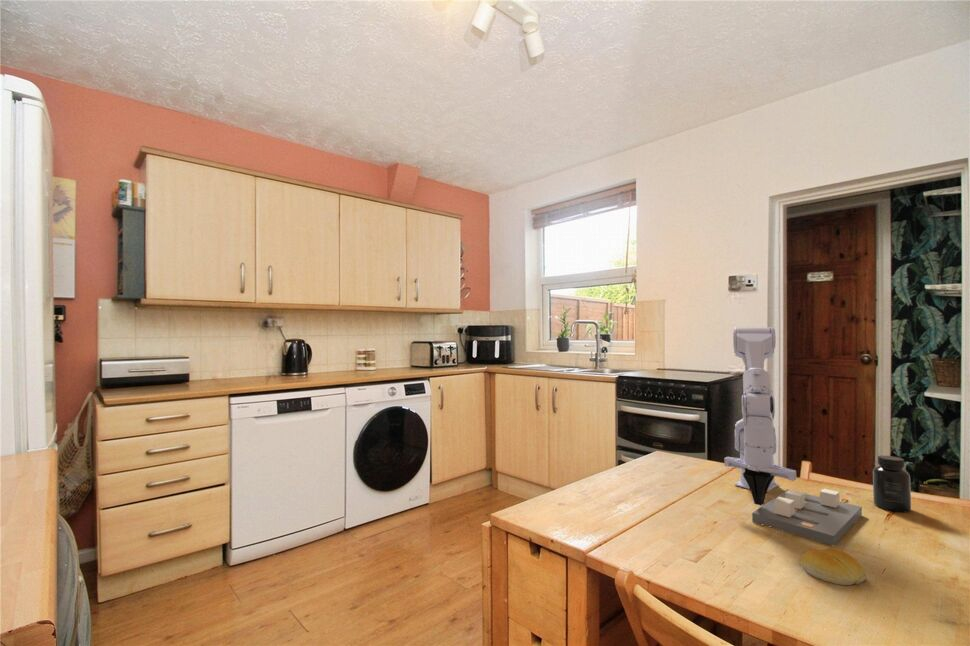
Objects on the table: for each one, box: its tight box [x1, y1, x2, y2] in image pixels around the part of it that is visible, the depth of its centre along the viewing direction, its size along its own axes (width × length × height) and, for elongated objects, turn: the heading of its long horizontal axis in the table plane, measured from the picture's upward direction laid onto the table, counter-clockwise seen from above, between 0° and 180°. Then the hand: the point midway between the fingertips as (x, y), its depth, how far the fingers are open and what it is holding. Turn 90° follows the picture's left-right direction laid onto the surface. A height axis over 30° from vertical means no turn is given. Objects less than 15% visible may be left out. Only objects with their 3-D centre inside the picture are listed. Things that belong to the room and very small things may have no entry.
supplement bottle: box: [872, 455, 912, 513], centre depth 110 cm, size 7×7×12 cm
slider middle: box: [785, 489, 806, 509], centre depth 106 cm, size 3×3×3 cm
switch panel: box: [751, 489, 863, 547], centre depth 104 cm, size 23×15×2 cm, turn 129°
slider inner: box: [819, 488, 840, 508], centre depth 107 cm, size 3×3×3 cm
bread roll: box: [800, 547, 867, 586], centre depth 81 cm, size 8×9×4 cm
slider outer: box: [774, 497, 795, 517], centre depth 102 cm, size 3×3×3 cm
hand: (759, 503), depth 105 cm, fingers closed
